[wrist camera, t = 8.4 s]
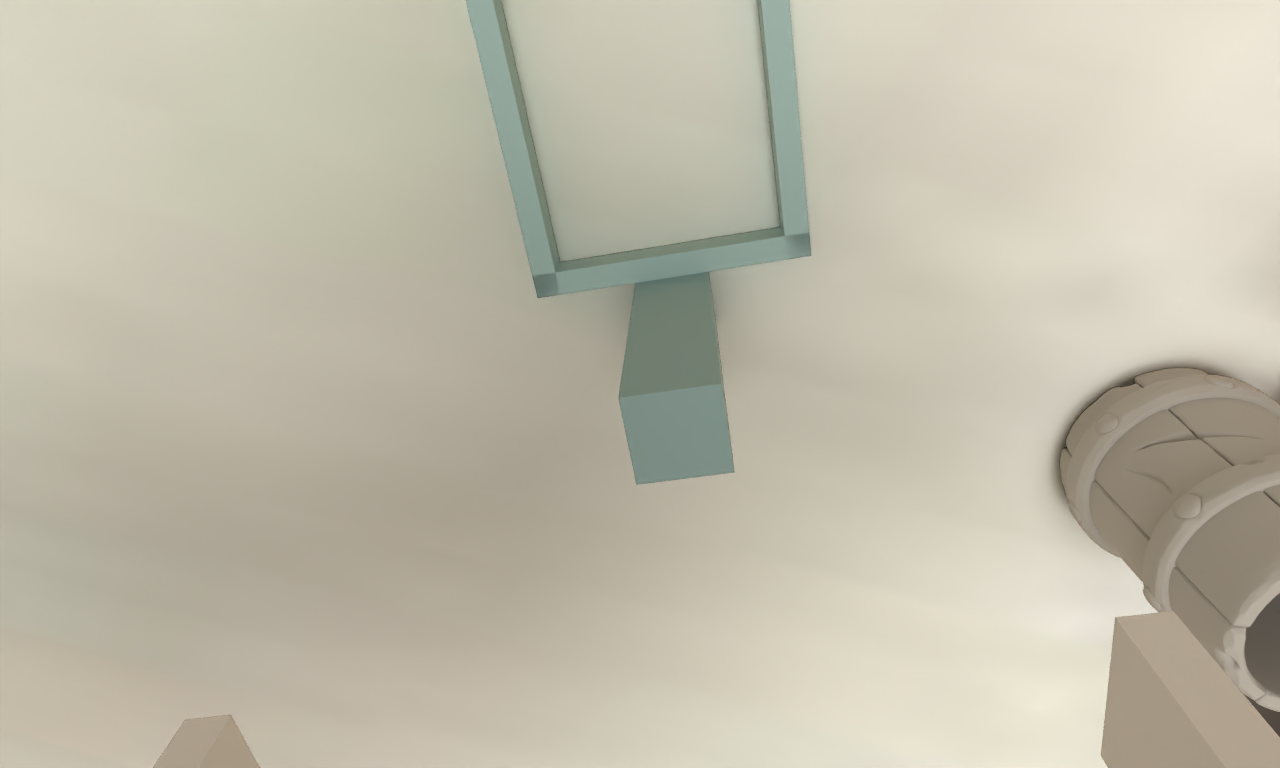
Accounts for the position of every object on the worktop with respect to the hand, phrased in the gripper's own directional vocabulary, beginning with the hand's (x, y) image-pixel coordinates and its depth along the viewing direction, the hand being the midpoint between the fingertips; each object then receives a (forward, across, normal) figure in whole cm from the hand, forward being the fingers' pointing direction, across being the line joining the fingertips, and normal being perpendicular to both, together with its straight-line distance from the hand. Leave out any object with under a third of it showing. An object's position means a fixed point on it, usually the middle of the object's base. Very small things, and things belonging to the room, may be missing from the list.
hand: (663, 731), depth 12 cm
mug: (+18, +20, -8) cm, 28 cm away
